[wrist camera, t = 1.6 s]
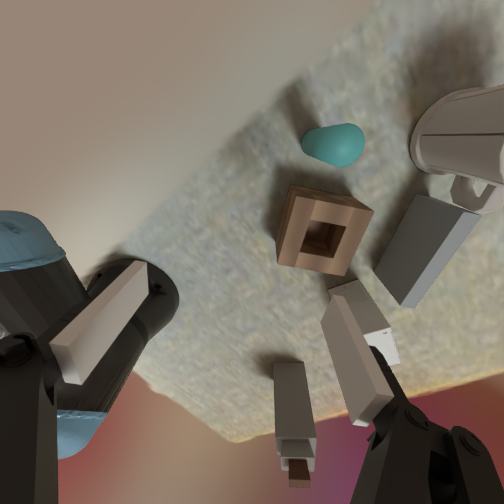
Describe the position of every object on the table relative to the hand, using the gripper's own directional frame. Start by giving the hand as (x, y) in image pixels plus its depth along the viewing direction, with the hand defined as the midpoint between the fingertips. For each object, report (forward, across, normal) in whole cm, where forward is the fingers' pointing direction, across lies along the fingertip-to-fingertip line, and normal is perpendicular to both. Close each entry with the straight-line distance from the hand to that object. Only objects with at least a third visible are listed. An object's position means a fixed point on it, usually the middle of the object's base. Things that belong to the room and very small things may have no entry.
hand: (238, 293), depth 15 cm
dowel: (+19, +6, +10) cm, 22 cm away
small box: (+19, +20, -13) cm, 30 cm away
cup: (+19, +22, +13) cm, 32 cm away
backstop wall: (+18, +23, 0) cm, 29 cm away
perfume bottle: (+19, +15, -36) cm, 43 cm away
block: (+19, +9, 0) cm, 21 cm away
